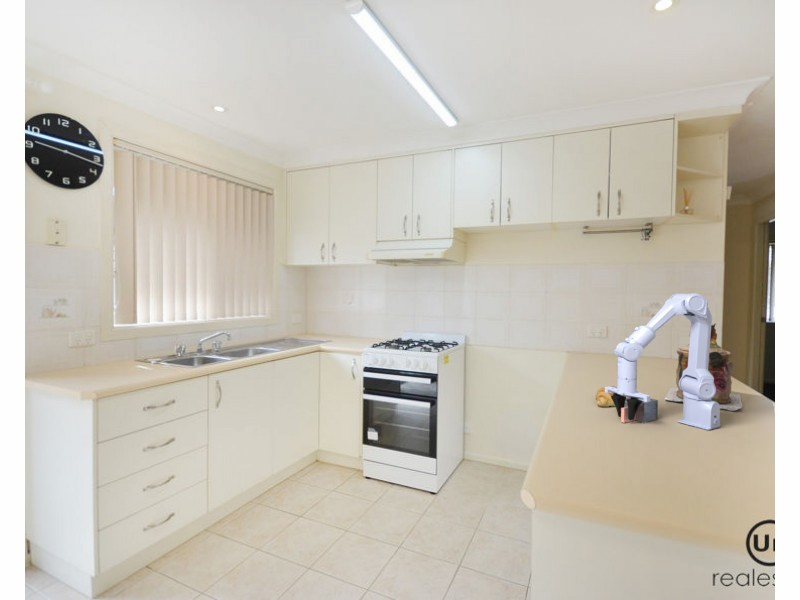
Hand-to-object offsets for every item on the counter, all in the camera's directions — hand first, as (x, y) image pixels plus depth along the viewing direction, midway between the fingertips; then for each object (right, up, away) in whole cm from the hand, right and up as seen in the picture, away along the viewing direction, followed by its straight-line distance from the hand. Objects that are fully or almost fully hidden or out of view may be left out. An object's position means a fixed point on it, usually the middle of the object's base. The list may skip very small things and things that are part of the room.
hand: (626, 418), depth 136 cm
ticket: (+4, -1, +2) cm, 5 cm away
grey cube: (+7, -1, +4) cm, 9 cm away
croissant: (+7, -1, +24) cm, 25 cm away
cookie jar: (+48, -2, +29) cm, 55 cm away
